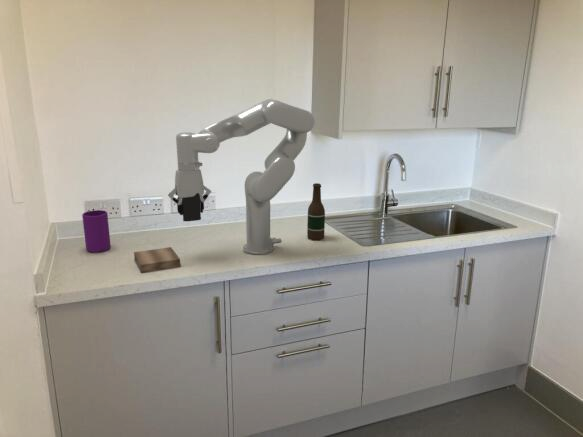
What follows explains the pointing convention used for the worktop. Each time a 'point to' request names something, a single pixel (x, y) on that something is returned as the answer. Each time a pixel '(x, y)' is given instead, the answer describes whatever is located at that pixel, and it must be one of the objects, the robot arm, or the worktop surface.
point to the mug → (96, 231)
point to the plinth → (156, 259)
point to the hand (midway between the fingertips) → (191, 212)
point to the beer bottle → (316, 216)
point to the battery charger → (191, 208)
